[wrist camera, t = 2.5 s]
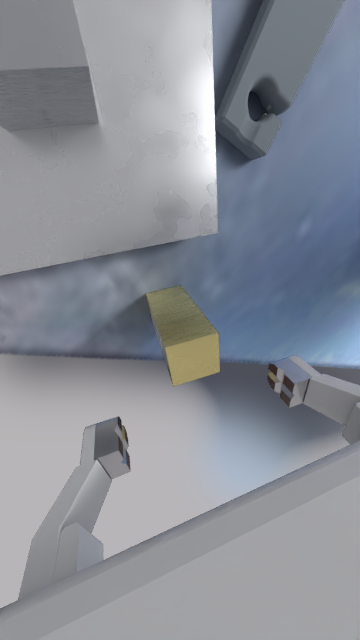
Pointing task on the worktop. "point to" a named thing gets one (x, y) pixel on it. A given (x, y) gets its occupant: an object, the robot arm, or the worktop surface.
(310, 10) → the bracket
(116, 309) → the worktop surface
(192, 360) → the yellow rectangular block
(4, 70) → the square plinth with cube
